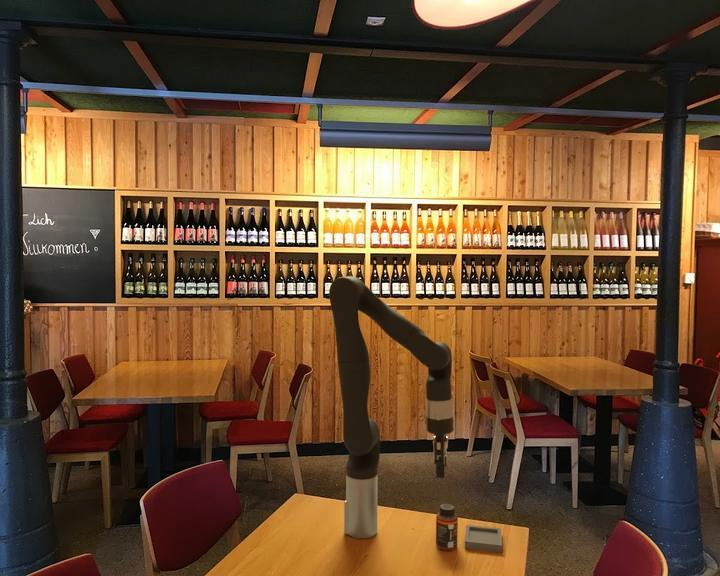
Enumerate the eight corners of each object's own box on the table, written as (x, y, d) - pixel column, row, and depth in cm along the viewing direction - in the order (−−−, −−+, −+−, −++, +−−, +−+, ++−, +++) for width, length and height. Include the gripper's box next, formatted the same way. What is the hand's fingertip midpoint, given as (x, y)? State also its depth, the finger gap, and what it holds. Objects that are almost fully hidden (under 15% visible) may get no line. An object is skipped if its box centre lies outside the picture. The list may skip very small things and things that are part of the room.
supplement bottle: (457, 552, 151) (457, 512, 151) (435, 550, 153) (435, 510, 152) (457, 542, 157) (458, 503, 157) (436, 540, 158) (436, 501, 158)
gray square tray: (464, 548, 154) (464, 541, 154) (466, 531, 164) (466, 524, 163) (501, 552, 152) (502, 545, 152) (500, 535, 161) (501, 528, 161)
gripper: (428, 407, 162) (430, 462, 163) (423, 421, 148) (425, 481, 149) (454, 408, 161) (456, 463, 161) (451, 421, 147) (454, 482, 147)
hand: (441, 471), depth 155 cm, fingers open, 8 cm apart
